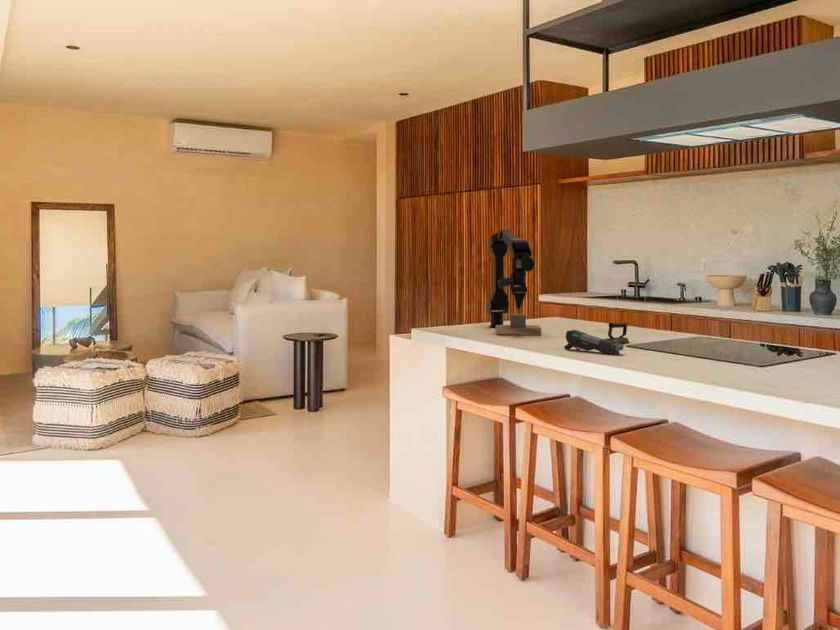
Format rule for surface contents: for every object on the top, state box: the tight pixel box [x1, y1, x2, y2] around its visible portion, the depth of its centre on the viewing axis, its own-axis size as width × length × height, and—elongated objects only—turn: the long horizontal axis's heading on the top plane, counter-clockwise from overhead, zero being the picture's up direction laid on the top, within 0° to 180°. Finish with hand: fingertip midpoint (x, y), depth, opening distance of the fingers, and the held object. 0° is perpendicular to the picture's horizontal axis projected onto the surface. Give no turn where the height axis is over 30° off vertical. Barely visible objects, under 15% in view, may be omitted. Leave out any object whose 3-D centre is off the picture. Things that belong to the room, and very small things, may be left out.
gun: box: [563, 329, 625, 356], centre depth 251 cm, size 4×20×10 cm, turn 49°
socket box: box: [495, 324, 542, 337], centre depth 300 cm, size 11×18×4 cm, turn 85°
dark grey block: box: [509, 313, 527, 328], centre depth 300 cm, size 6×6×7 cm
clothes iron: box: [606, 321, 630, 346], centre depth 273 cm, size 7×11×10 cm, turn 126°
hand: (518, 308), depth 299 cm, fingers open, 3 cm apart
